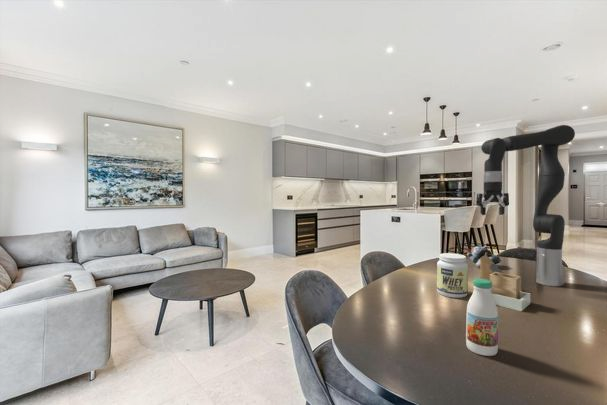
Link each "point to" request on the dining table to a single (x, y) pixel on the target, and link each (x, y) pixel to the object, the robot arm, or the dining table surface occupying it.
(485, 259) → the sandwich container
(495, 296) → the grey crate
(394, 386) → the dining table surface
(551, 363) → the dining table surface
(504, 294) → the oak crate
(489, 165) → the robot arm
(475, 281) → the milk bottle
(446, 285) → the supplement tub
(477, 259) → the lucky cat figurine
